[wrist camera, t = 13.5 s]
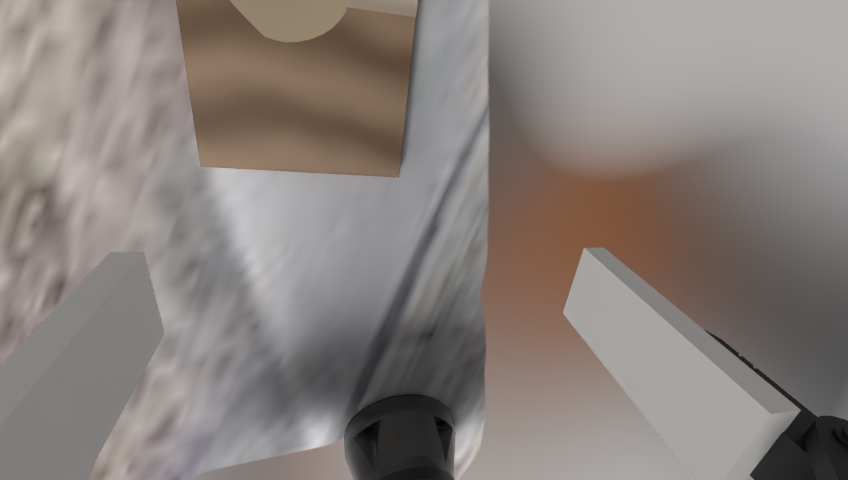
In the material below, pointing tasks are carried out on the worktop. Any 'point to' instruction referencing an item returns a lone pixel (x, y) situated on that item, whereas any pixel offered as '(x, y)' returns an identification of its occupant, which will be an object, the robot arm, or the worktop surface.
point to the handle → (292, 17)
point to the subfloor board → (300, 90)
